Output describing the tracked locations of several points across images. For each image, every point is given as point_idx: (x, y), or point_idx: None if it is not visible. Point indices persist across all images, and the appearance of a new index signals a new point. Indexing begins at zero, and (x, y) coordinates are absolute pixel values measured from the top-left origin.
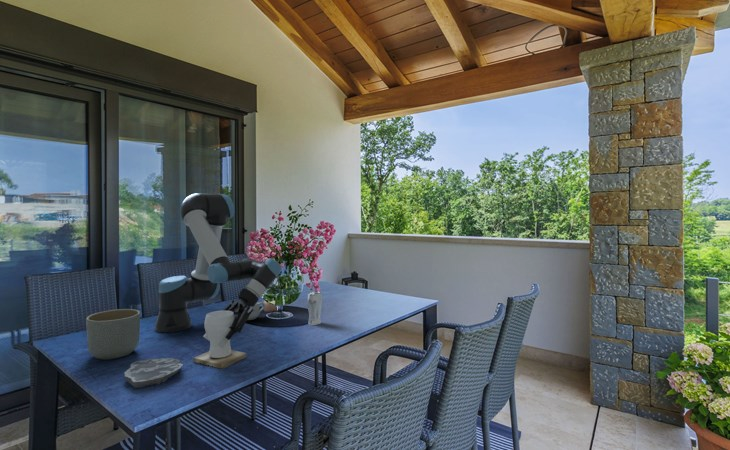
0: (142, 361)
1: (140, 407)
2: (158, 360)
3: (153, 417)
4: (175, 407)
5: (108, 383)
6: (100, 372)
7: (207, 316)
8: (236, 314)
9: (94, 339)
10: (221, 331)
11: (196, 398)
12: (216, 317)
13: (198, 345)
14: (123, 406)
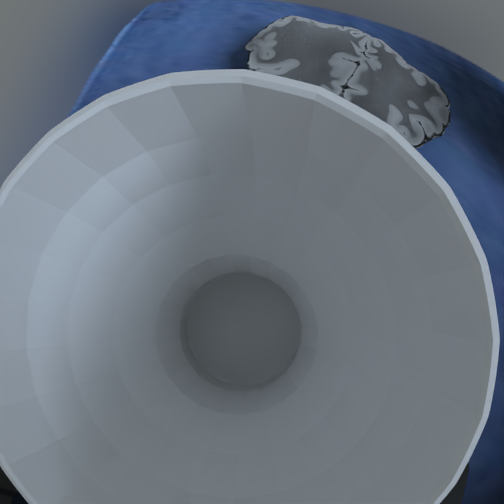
0: (436, 104)
1: (195, 14)
2: (408, 123)
3: (140, 18)
4: (123, 44)
5: (387, 43)
6: (467, 83)
7: (280, 76)
8: (9, 482)
9: None
10: (104, 237)
11: (101, 79)
12: (59, 125)
13: None
14: (234, 5)
